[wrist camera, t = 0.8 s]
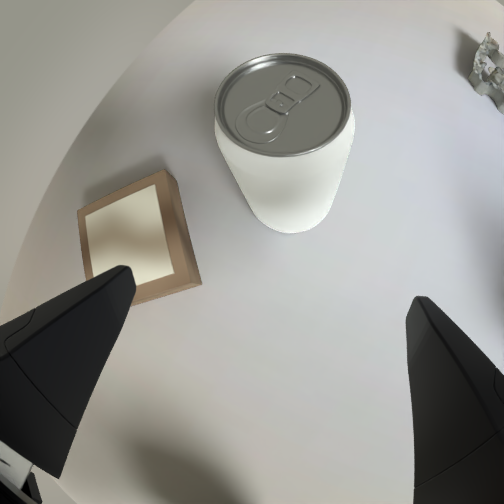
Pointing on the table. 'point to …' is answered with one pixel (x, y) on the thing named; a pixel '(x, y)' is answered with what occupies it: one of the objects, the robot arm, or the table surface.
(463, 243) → the table surface
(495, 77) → the egg carton
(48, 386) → the robot arm
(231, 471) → the table surface
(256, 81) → the can
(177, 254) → the block
